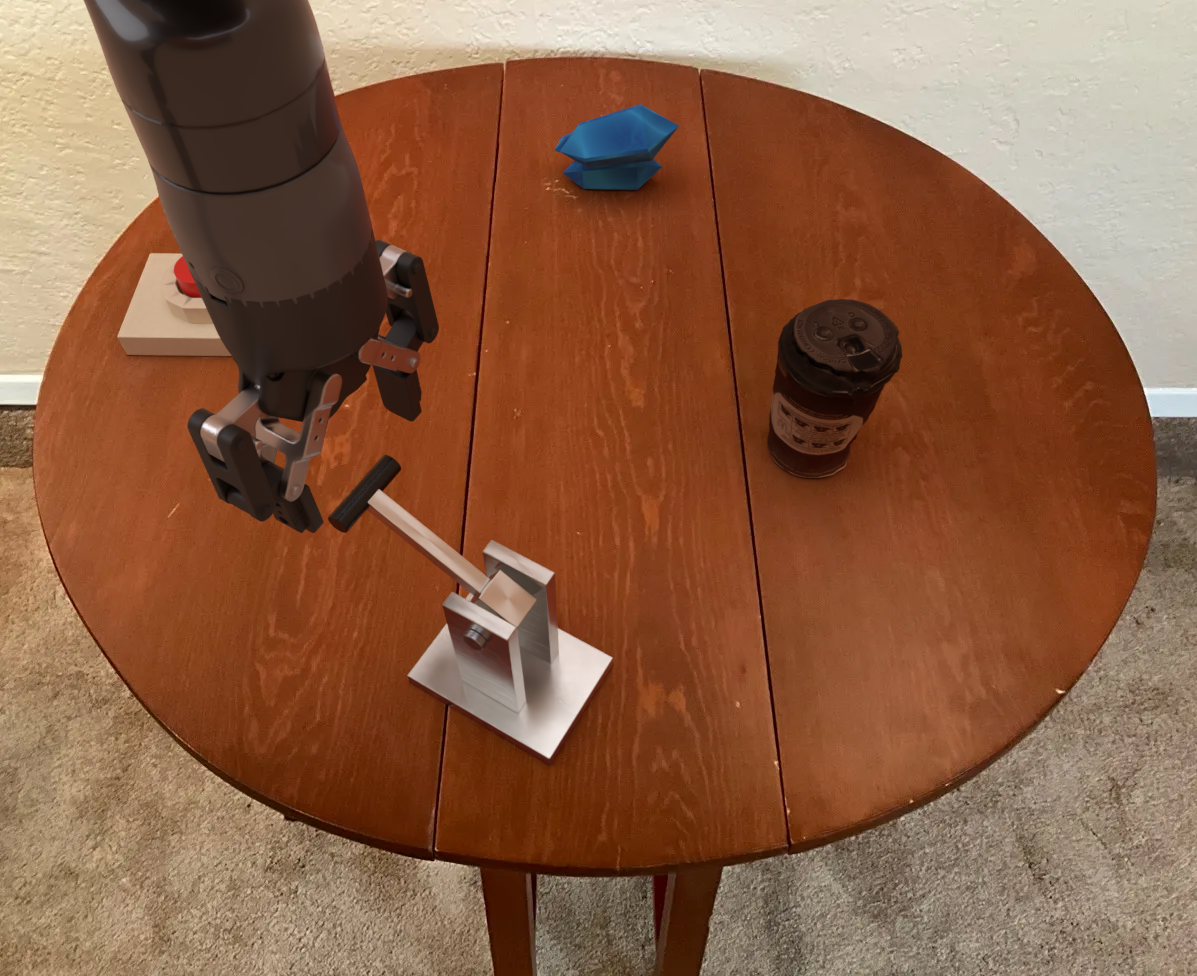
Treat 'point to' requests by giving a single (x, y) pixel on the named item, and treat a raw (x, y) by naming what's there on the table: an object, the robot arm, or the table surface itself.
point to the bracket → (513, 663)
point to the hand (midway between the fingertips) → (355, 465)
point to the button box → (167, 316)
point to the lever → (430, 544)
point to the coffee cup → (828, 383)
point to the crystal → (616, 149)
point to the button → (185, 279)
